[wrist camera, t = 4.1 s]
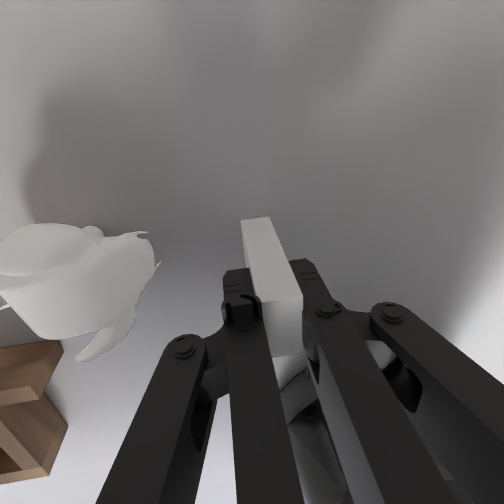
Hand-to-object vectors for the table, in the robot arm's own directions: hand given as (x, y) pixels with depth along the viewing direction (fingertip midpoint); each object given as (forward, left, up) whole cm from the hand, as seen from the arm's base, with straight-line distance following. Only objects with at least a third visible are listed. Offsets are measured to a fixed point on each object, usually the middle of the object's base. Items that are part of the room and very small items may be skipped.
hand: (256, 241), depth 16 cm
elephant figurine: (+9, 0, -2) cm, 9 cm away
